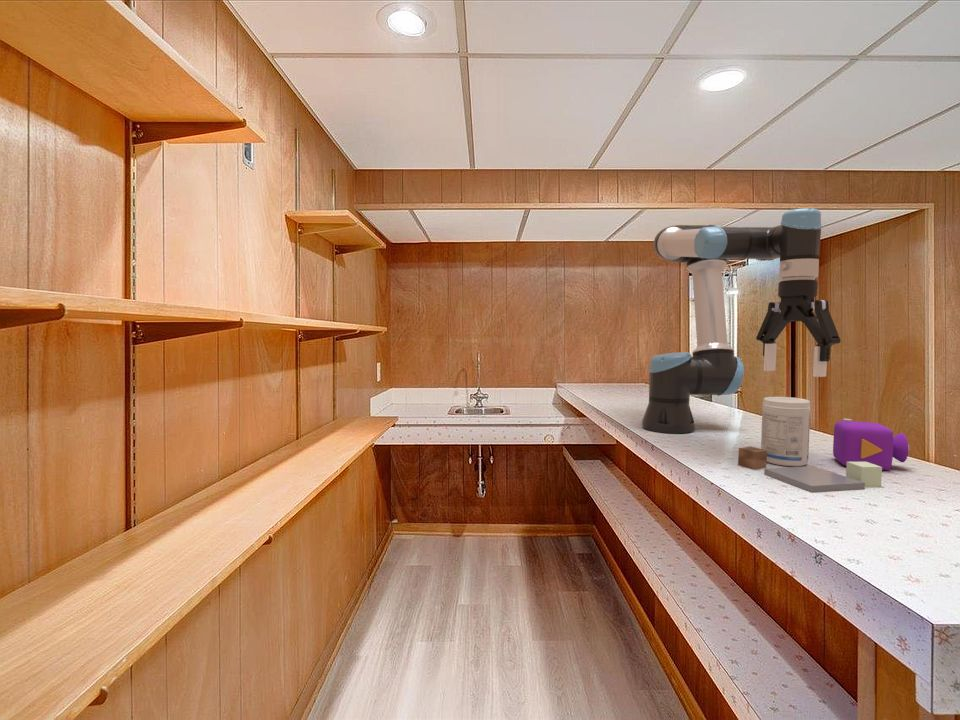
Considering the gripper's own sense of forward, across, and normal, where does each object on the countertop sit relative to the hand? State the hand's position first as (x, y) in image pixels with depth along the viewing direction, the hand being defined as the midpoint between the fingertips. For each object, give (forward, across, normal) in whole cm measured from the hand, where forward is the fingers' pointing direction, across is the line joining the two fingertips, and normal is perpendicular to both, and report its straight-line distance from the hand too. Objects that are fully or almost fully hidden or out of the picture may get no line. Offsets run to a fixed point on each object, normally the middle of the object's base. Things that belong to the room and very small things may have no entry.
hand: (793, 373), depth 116 cm
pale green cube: (+20, +17, +1) cm, 27 cm away
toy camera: (+21, +6, +16) cm, 27 cm away
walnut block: (+21, +1, -11) cm, 24 cm away
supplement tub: (+21, 0, -1) cm, 21 cm away
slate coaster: (+20, +13, -8) cm, 26 cm away
